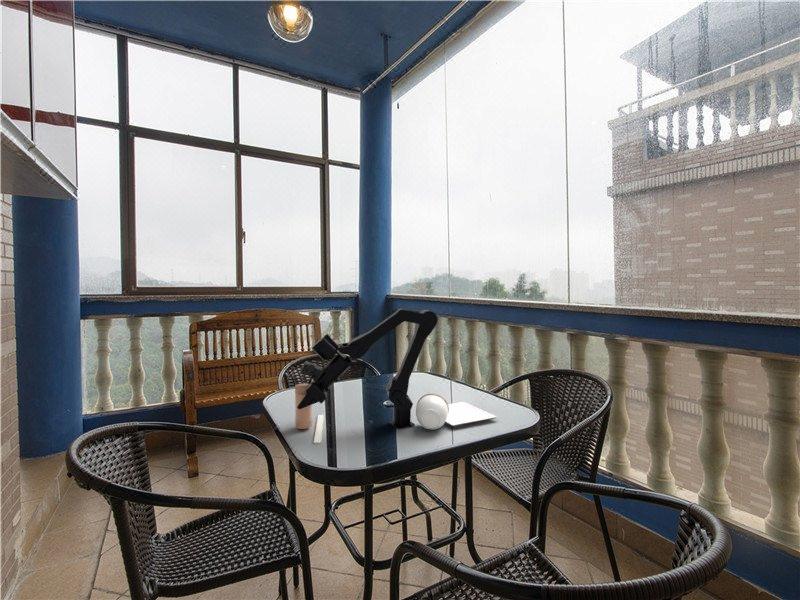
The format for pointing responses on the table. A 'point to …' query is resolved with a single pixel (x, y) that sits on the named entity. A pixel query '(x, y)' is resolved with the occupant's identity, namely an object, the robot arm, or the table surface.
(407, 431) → the table surface
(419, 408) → the white rounded piece
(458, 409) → the plate
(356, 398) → the table surface
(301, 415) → the tumbler
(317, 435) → the line
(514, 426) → the table surface
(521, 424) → the table surface
